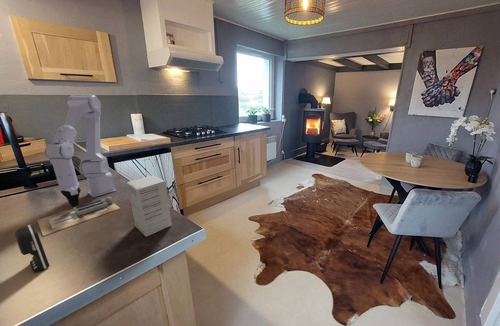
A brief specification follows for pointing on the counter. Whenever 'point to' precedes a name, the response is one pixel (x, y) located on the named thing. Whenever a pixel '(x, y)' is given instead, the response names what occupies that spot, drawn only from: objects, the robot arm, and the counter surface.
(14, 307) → the counter surface
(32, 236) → the battery charger
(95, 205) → the grey slotted block
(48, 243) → the counter surface
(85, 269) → the counter surface
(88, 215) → the label board
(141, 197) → the supplement box
